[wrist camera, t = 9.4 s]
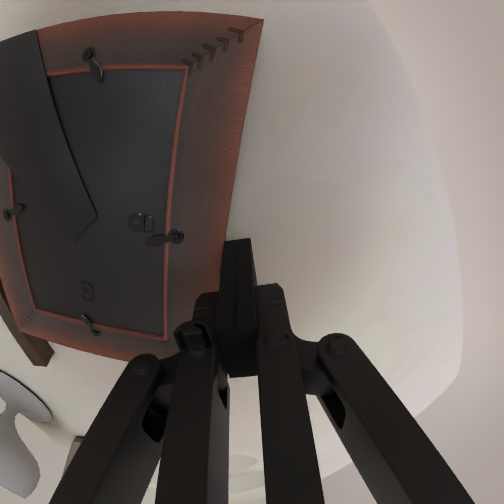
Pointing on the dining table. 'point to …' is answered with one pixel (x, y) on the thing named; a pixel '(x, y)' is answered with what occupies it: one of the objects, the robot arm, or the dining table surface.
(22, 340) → the walnut rail
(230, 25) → the picture frame
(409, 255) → the dining table surface
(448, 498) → the robot arm
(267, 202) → the dining table surface
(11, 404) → the chalice
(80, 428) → the dining table surface
